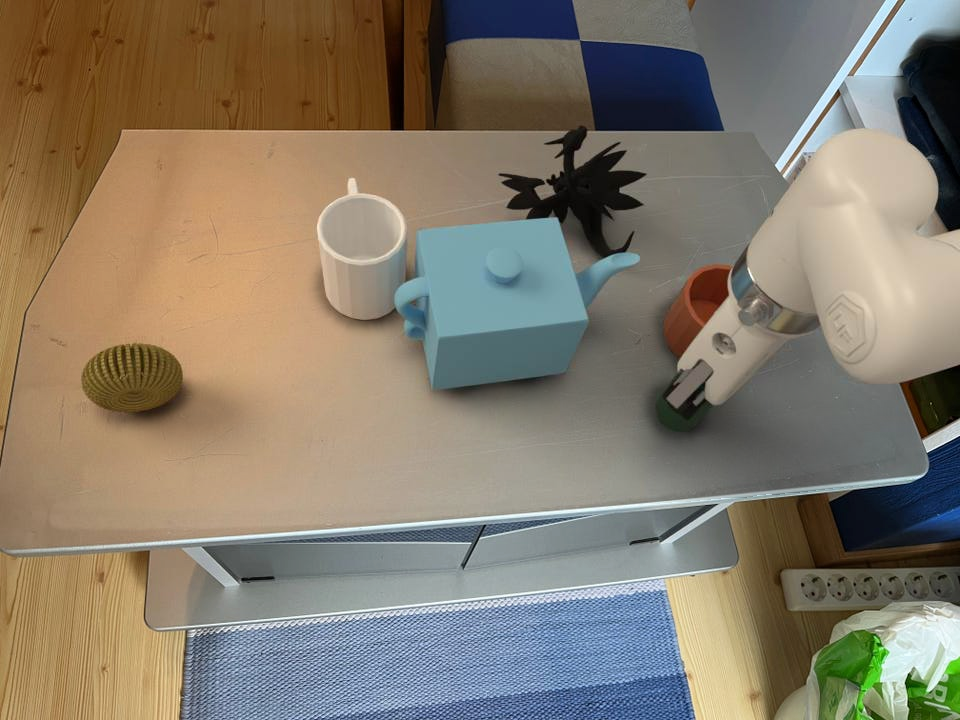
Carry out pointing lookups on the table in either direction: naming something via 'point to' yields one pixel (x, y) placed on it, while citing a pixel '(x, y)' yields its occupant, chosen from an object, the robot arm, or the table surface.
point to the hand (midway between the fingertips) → (694, 390)
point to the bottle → (676, 420)
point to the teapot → (499, 300)
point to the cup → (695, 306)
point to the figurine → (579, 190)
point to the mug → (362, 253)
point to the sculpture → (132, 377)
